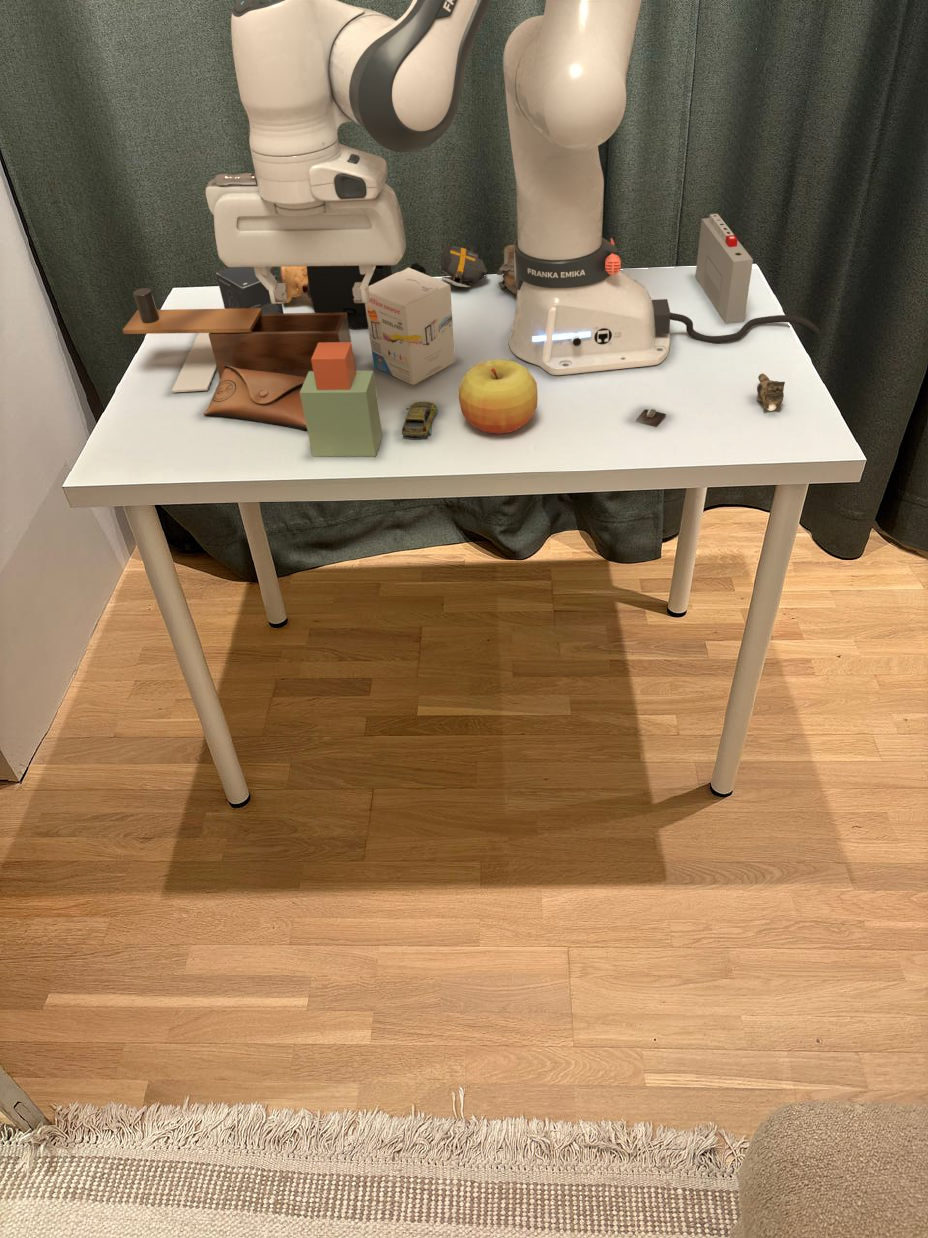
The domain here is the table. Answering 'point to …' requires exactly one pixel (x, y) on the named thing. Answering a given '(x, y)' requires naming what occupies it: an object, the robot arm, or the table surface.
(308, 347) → the storage box
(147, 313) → the lid
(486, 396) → the apple
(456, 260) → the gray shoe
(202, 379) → the nameplate
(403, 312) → the ink box
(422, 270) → the wireless earbuds
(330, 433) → the block
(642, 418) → the square knob tile
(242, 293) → the box
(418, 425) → the race car
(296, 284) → the tan porous chunk
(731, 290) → the cassette player
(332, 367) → the block
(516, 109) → the robot arm
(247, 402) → the sunglasses case
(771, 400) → the cat figurine
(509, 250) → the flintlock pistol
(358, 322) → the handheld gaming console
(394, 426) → the table surface
